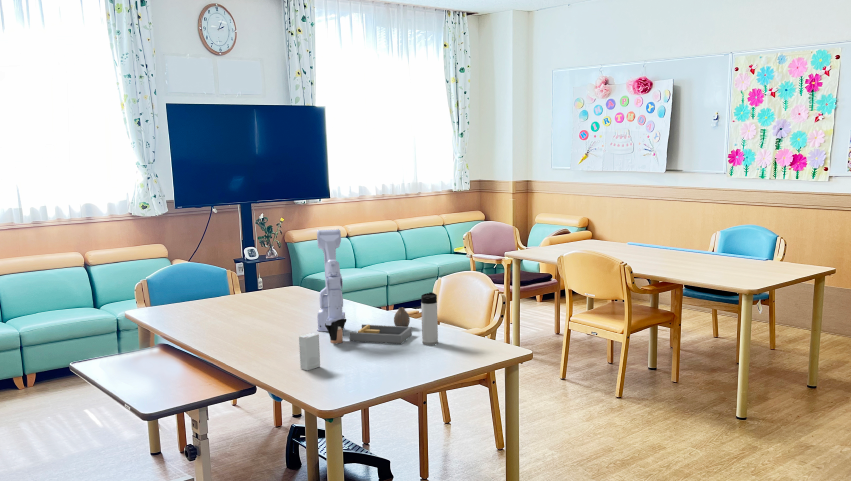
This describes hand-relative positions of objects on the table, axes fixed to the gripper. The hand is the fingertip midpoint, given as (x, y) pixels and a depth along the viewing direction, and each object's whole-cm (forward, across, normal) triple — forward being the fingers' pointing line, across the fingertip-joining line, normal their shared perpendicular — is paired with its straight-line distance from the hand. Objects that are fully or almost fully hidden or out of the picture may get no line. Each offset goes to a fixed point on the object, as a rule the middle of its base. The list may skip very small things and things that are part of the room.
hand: (336, 338), depth 278 cm
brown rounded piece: (+2, +27, -19) cm, 33 cm away
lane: (+1, +9, -16) cm, 18 cm away
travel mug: (+2, +6, -38) cm, 39 cm away
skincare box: (+2, -34, -5) cm, 34 cm away
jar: (+1, 0, 0) cm, 1 cm away
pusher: (+1, +9, -11) cm, 15 cm away
